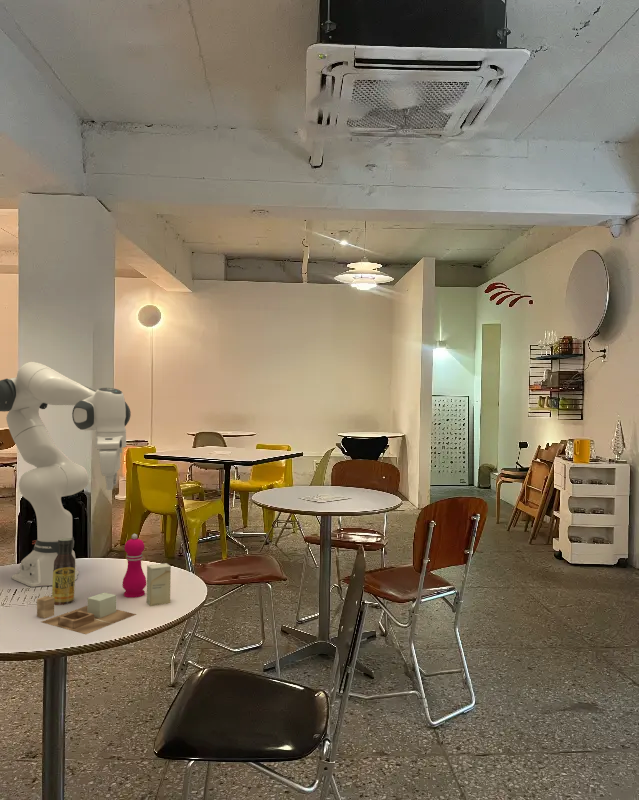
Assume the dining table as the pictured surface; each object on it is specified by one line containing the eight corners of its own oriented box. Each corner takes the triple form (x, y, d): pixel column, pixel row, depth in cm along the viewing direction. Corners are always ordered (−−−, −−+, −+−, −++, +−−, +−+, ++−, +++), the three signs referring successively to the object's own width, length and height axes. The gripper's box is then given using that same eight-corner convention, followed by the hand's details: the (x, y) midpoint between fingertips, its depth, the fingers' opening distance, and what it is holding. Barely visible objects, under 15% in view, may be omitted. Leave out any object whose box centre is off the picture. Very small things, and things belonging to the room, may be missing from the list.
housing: (87, 614, 187) (87, 598, 187) (103, 608, 192) (103, 592, 192) (99, 618, 185) (99, 600, 185) (116, 611, 190) (116, 595, 190)
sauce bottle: (53, 609, 195) (53, 542, 194) (50, 603, 200) (50, 538, 200) (76, 606, 198) (76, 540, 197) (73, 600, 203) (73, 536, 203)
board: (40, 625, 181) (40, 609, 181) (92, 607, 197) (92, 592, 197) (85, 638, 172) (85, 620, 172) (136, 617, 188) (136, 601, 188)
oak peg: (36, 620, 186) (37, 598, 186) (46, 616, 188) (46, 595, 188) (44, 622, 184) (44, 600, 184) (54, 618, 187) (54, 597, 187)
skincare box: (150, 609, 195) (150, 568, 195) (146, 605, 199) (146, 565, 199) (171, 606, 198) (171, 565, 198) (166, 602, 202) (166, 562, 202)
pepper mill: (139, 602, 202) (139, 536, 202) (118, 600, 203) (118, 535, 203) (150, 594, 209) (150, 531, 209) (129, 593, 211) (129, 530, 210)
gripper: (103, 439, 209) (104, 483, 209) (95, 444, 189) (96, 492, 189) (124, 439, 210) (125, 482, 210) (118, 443, 190) (119, 491, 190)
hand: (111, 487), depth 199 cm, fingers open, 8 cm apart
